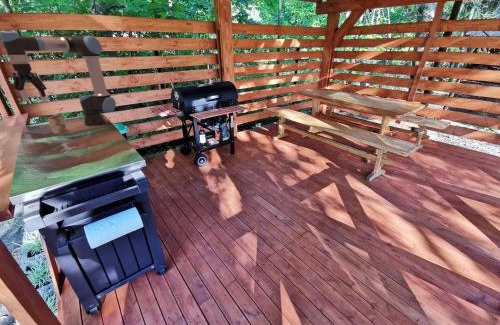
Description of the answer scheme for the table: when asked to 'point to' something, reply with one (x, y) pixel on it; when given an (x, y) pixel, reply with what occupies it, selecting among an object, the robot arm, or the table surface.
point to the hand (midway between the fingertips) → (35, 102)
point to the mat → (40, 131)
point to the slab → (57, 124)
